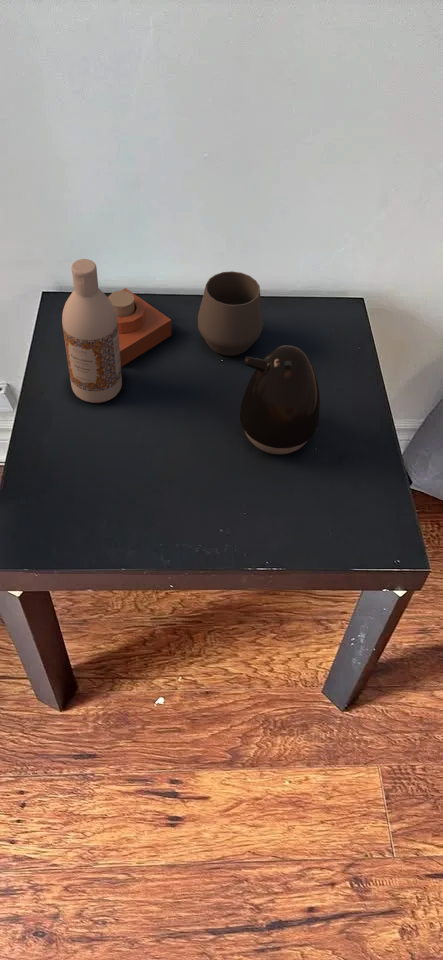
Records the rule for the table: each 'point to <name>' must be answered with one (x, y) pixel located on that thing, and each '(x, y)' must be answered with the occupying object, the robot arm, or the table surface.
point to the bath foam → (91, 337)
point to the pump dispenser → (281, 401)
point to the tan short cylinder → (123, 303)
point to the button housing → (141, 330)
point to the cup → (230, 313)
